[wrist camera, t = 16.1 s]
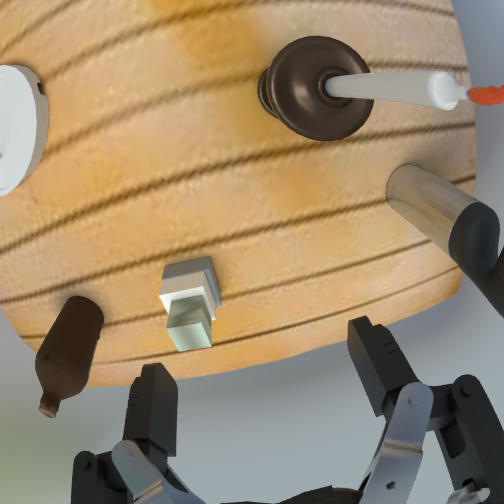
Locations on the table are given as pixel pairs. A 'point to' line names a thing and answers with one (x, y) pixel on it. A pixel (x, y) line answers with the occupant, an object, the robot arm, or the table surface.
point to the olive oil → (68, 353)
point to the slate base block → (194, 267)
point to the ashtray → (20, 125)
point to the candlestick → (348, 89)
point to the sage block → (189, 323)
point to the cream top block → (188, 290)
